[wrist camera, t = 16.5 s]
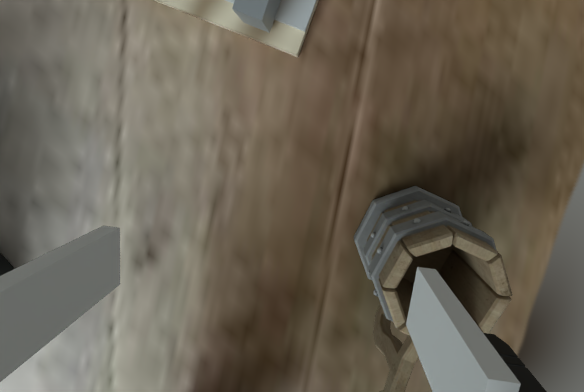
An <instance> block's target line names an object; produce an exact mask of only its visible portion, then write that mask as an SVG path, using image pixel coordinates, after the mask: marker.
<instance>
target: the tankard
mask: <svg viewBox="0 0 584 392" xmlns="http://www.w3.org/2000/svg"><path fill="white" fill-rule="evenodd" d="M354 241H355V243H356V246H357V249H358V252H359V254H360V257H361V260H362V263H363V266H364V268H365V271H366V274H367V277H368V279H370V280H373V283H374V286H375V288H376V289H375V290H374V295H375V296H378V297H379V299H380V302H381V304H380V306H379V308H378V310H377V312H376V314H375V322H374V330H373V334H374V340H375V345H376V347H377V348H378V349H379V350H380V351H381V352H382V353H383V354H384V355H385V358H386V360H387V363H388V366H389V368H390V372H389V375H388V378H387V381H386V385H385V388H384V390H383V391H381V392H405V389H406V386H407V383H408V381H409V378H410V375H411V373H412V370H413V367H414V365H415V363H416V361H417V359H418V358H419V356H418V354H417V351H416V349H415V346H414V344H413V341H412V339H411V336H410V334H409V331H408V329H407V326H406V322H407V317H408V312H409V307H410V302H411V296H412V291H413V286H414V281H415V276H416V271H417V267H422V268H430V269H436V270H437V272H438V273H439V274H440V276H441V277H442V278H443V280H444V281H445V282H446V284H447V285H448V286H449V288H450V289H451V290H452V292H453V293H454V295H455V296H456V297H457V299H458V300H459V301H460V303H461V304H462V305H463V307H464V308H465V309H466V311H467V312H468V313H469V315H470V316H471V317H472V319H473V320H474V321H475V323H476V324H477V326H478V327H479V328H480V330H481V331H483V332H484V333H487V334H488V333H489V332H490V330H491V329H492V328H493V326H494V325H495V323H496V322H497V320H498V319H499V317H500V316H501V314H502V313H503V311H504V310H505V308H506V307H507V305H508V304H509V302H510V301H511V298H510V297H509V296H512V292H511V288H510V285H509V281H508V278H507V274H506V270H505V267H504V263H503V260H502V256H501V255H500V254H499V253H498V251H497V250H496V247H495V243H494V240H493V238H491V237H490V236H489V235H487V234H486V233H484V232H483V231H481V230H479V229H476V228H474V227H472V224H471V223H470V222H469V221H468V220H466V219H465V218H463V217H462V214H461V211H460V208H459V206H457V205H456V204H454V203H452V202H450V201H447V200H445V199H443V198H441V197H439V196H437V195H434V194H432V193H430V192H428V191H426V190H424V189H421V188H419V187H417V186H413V187H410V188H407V189H404V190H401V191H398V192H395V193H392V194H389V195H387V196H384V197H381V198H378V199H375V200H373V201H372V203H371V205H370V207H369V209H368V211H367V212H366V214H365V216H364V218H363V220H362V222H361V224H360V226H359V228H358V230H357V232H356V233H355V235H354ZM391 321H393V322H394V325H395V327H397V328H398V330H399V331H401V332H403V333H405V334H407V335H408V336H407V338H406V340H405V341H404V343H403V344H402V342H401V341H400V340H398V339H397V338H396V337H395V336H393V335H392V333H391V329H390V324H391Z"/></svg>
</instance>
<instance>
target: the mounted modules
mask: <svg viewBox="0 0 584 392" xmlns="http://www.w3.org/2000/svg"><path fill="white" fill-rule="evenodd" d="M280 1H281V0H235V1H234V4H233V8H232V9H233V11H234V12H235V13H236V14H237V15H238V16H239V18H240V19H241V20H242V21H243V22H244V23H246V24H248V25H251V26H253V27H256V28H258V29H261V30H263V31H266V32H268V33H270V31H271V28H272V25H273V22H274V19H275V16H276V13H277V10H278V7H279V4H280Z"/></svg>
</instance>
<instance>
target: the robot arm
mask: <svg viewBox="0 0 584 392" xmlns="http://www.w3.org/2000/svg"><path fill="white" fill-rule="evenodd" d="M118 285H120V228H117V227H110V226H102V227H99V228H97V229H95V230H93V231H91V232H89V233H87V234H85V235H83V236H81V237H79V238H77V239H75V240H73V241H71V242H69V243H67V244H65V245H63V246H61V247H59V248H57V249H54V250H52V251H50V252H48V253H46V254H44V255H42V256H40V257H38V258H36V259H34V260H32V261H30V262H28V263H26V264H24V265H22V266H20V267H18V268H16V269H13V268H12V266H11V265H10V264H9V262H8V261H7V260H6V259H5V258H4V257H3V256H2V255H1V254H0V382H1V381H2V380H3V379H5V378H6V377H7V376H8V375H9V374H11V373H12V372H13V371H14V370H16V369H17V368H18V367H19V366H20V365H22V364H23V363H24V362H25V361H27V360H28V359H29V358H30V357H31V356H33V355H34V354H35V353H36V352H38V351H39V350H40V349H41V348H43V347H44V346H45V345H46V344H47V343H49V342H50V341H51V340H52V339H54V338H55V337H56V336H57V335H58V334H60V333H61V332H62V331H63V330H65V329H66V328H67V327H68V326H69V325H71V324H72V323H73V322H74V321H76V320H77V319H78V318H79V317H80V316H82V315H83V314H84V313H85V312H87V311H88V310H89V309H90V308H91V307H93V306H94V305H95V304H96V303H98V302H99V301H100V300H101V299H102V298H104V297H105V296H106V295H107V294H109V293H110V292H111V291H112V290H114V289H115V288H116V287H117V286H118ZM406 326H407V329H408V331H409V334H410V336H411V339H412V341H413V344H414V346H415V349H416V351H417V354H418V356H419V359H420V361H421V364H422V366H423V369H424V371H425V374H426V376H427V379H428V381H429V384H430V386H431V389H432V391H433V392H546V391H545V389H544V388H543V387H542V386H541V384H540V383H539V382H538V381H537V380H536V378H535V377H534V376H533V375H532V373H531V372H530V371H529V370H528V369H527V368H525V365H524V364H523V363H522V361H521V360H520V359H519V358H517V355H516V354H515V353H514V351H513V350H512V349H511V348H510V346H509V345H508V344H506V343H505V342H504V341H502V340H501V339H500V338H498V337H497V336H496V335H494V334H487V333H483V332H482V331H481V330H480V328H479V327H478V326H477V324H476V323H475V321H474V320H473V319H472V317H471V316H470V315H469V313H468V312H467V311H466V309H465V308H464V307H463V305H462V304H461V303H460V301H459V300H458V299H457V297H456V296H455V295H454V293H453V292H452V290H451V289H450V288H449V286H448V285H447V284H446V282H445V281H444V280H443V278H442V277H441V276H440V274H439V273H438V272H437V270H436V269H430V268H422V267H417V271H416V276H415V281H414V286H413V291H412V296H411V302H410V307H409V312H408V317H407V322H406Z"/></svg>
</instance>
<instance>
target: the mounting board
mask: <svg viewBox="0 0 584 392" xmlns="http://www.w3.org/2000/svg"><path fill="white" fill-rule="evenodd" d="M154 1H156V2H159V3H161V4H164V5H167V6H169V7H172V8H174V9H177V10H179V11H182V12H184V13H187V14H189V15H192V16H194V17H197V18H199V19H202V20H205V21H207V22H210V23H212V24H215V25H217V26H220V27H222V28H225V29H227V30H230V31H232V32H235V33H237V34H240V35H243V36H245V37H248V38H250V39H253V40H255V41H258V42H260V43H263V44H265V45H268V46H270V47H273V48H275V49H278V50H280V51H283V52H286V53H288V54H291V55H293V56H296V57H298V56H299V53H300V50H301V48H302V45H303V42H304V39H305V37H306V34H307V31H308V28H309V26H310V23H311V20H312V17H313V15H314V12H315V9H316V6H317V4H318V1H319V0H281V1H280V4H279V7H278V10H277V13H276V16H275V19H274V22H273V25H272V28H271V31H270V33H268V32H266V31H263V30H261V29H258V28H256V27H253V26H251V25H248V24H246V23H244V22H243V21H242V20H241V19H240V18H239V16H238V15H237V14H236V13H235V12H234V11H233V9H232V8H233V4H234V1H235V0H154Z"/></svg>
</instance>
